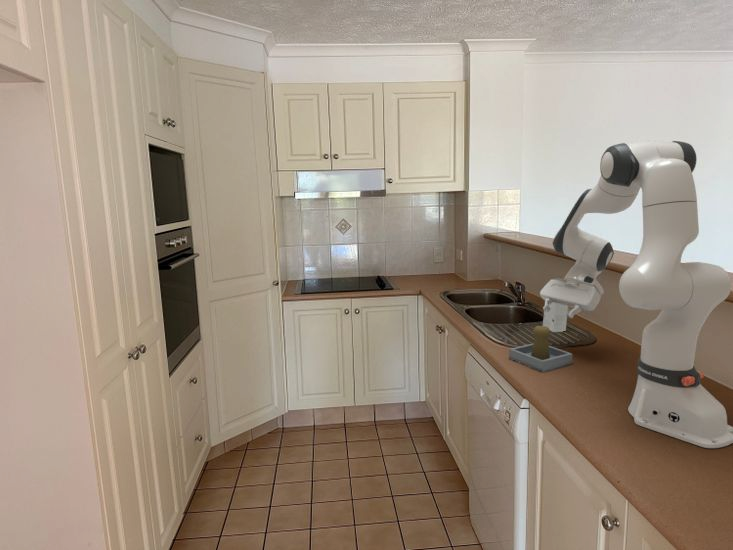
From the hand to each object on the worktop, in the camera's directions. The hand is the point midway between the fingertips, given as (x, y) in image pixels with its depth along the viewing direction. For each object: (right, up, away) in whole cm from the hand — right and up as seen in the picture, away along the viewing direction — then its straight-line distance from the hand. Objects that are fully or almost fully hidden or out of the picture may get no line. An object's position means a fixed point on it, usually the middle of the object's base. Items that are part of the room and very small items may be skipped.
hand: (556, 313), depth 157 cm
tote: (-6, -16, -1) cm, 17 cm away
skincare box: (+13, -10, +34) cm, 38 cm away
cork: (-6, -15, -1) cm, 16 cm away
